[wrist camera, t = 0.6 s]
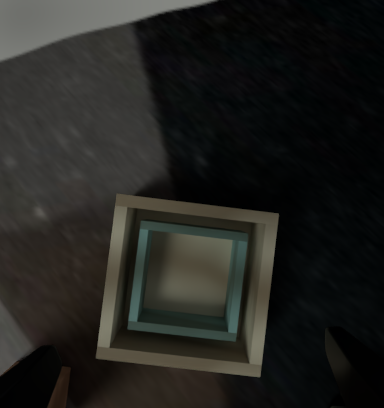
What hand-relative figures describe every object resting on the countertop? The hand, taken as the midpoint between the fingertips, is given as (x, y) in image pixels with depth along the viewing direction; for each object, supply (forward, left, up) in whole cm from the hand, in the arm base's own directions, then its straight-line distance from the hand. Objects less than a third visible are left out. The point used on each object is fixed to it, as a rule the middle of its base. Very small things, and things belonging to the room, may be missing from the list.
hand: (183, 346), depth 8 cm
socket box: (-1, 0, -13) cm, 13 cm away
